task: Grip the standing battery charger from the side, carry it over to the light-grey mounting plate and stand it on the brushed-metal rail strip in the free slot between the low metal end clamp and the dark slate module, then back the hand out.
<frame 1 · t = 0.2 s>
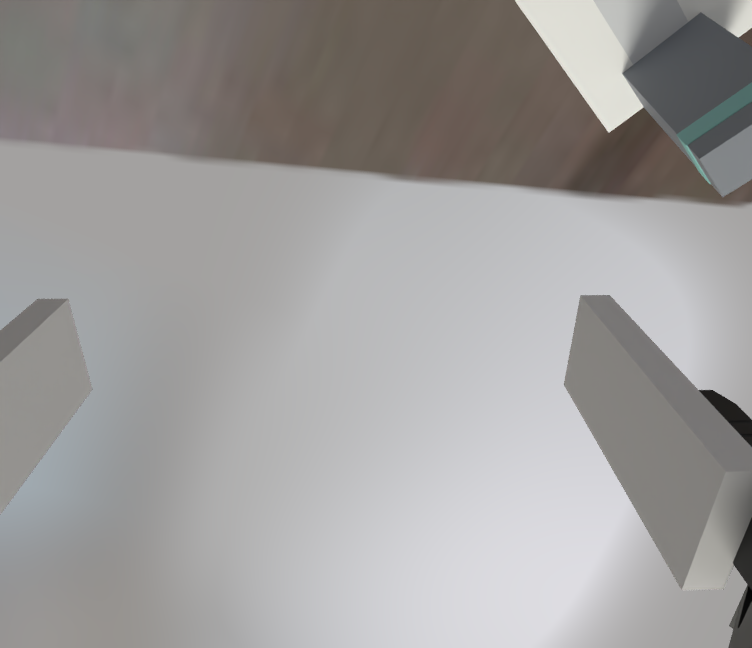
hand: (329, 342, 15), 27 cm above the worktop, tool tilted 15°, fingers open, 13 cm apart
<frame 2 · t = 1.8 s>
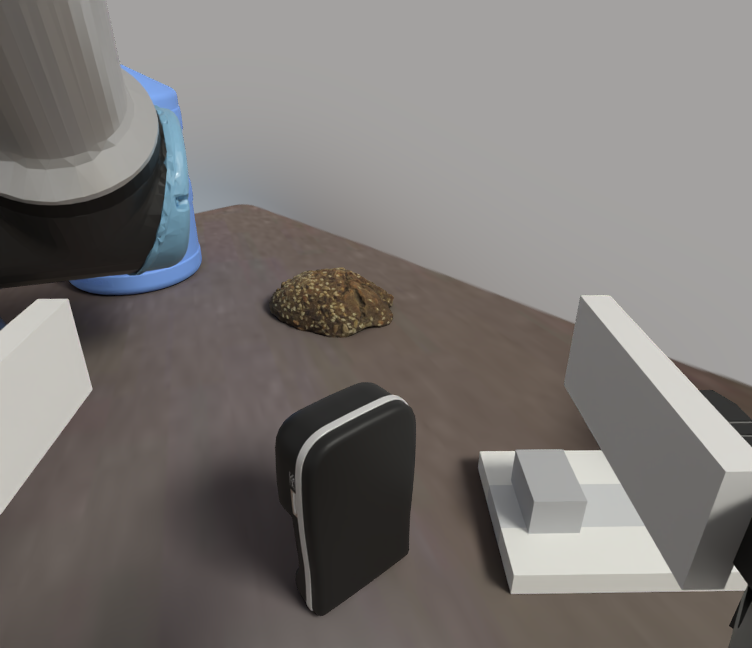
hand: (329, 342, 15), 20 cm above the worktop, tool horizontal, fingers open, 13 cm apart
mount: (650, 521, 36), on the worktop
bread roll: (337, 314, 62), on the worktop
water jug: (138, 273, 71), on the worktop
battery charger: (347, 568, 33), on the worktop
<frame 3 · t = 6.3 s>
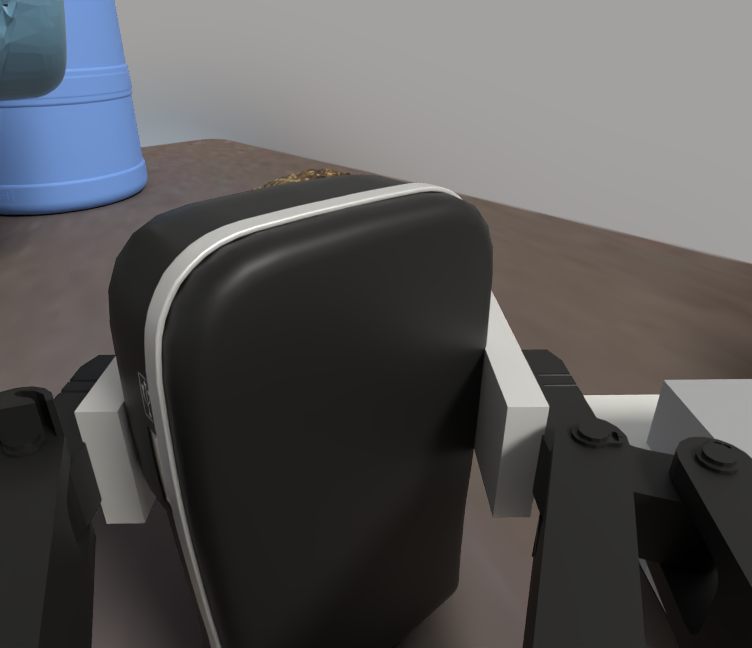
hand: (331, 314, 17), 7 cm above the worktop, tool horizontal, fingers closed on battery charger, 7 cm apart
bread roll: (329, 234, 45), on the worktop
water jug: (61, 195, 54), on the worktop
battery charger: (326, 624, 15), on the worktop, touching gripper
when the fingers open (9 cm above the worktop, at t = 11.0 s): battery charger drops 1 cm, resting on mount.
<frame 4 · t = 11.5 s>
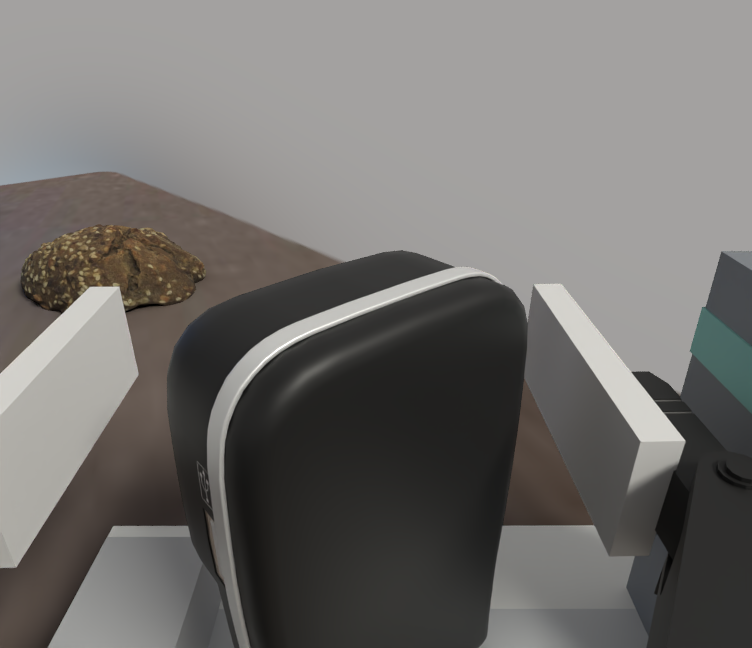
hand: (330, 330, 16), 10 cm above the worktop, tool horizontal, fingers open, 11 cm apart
bread roll: (124, 289, 44), on the worktop
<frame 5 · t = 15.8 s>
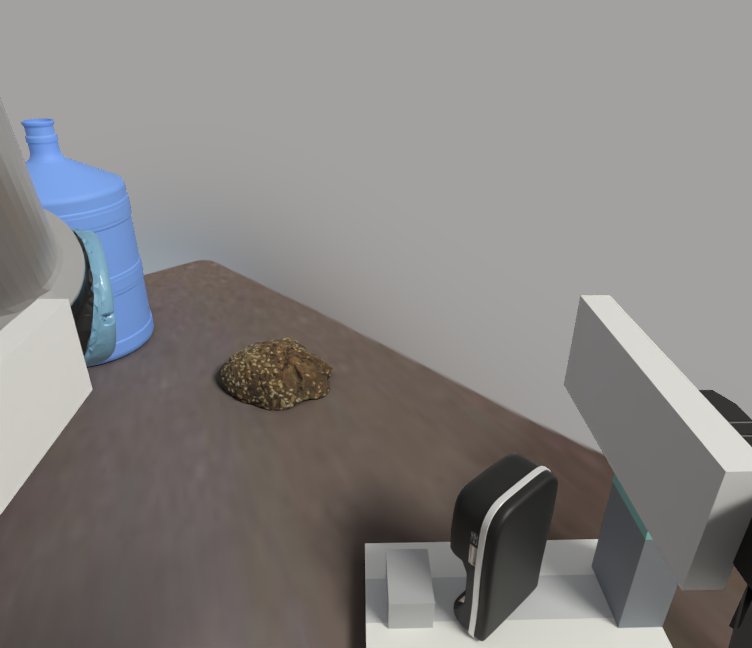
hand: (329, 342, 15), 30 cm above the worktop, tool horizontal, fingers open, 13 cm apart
mount: (504, 611, 41), on the worktop
bread roll: (280, 383, 68), on the worktop
water jug: (93, 342, 77), on the worktop
battery charger: (488, 600, 41), point 1 cm above the worktop, touching mount
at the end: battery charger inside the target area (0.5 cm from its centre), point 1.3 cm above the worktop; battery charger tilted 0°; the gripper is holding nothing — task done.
